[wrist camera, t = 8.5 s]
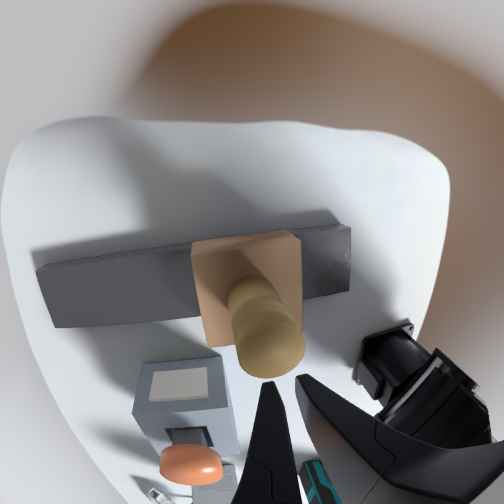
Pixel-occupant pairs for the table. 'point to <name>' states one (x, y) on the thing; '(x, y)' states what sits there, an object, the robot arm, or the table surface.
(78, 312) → the rail
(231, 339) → the carriage
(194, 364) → the cabinet
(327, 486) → the surveillance camera
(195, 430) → the button
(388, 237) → the table surface
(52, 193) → the table surface
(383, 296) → the table surface
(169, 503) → the grey elongated part
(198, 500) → the skincare box
